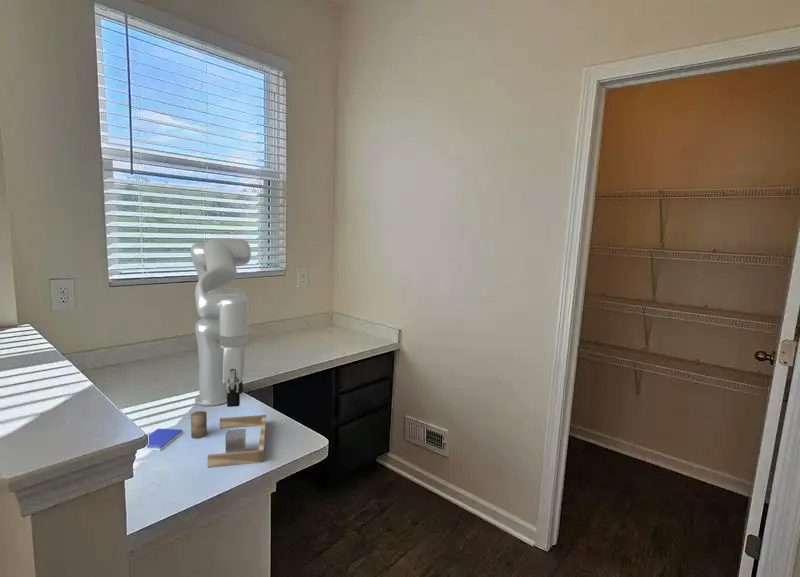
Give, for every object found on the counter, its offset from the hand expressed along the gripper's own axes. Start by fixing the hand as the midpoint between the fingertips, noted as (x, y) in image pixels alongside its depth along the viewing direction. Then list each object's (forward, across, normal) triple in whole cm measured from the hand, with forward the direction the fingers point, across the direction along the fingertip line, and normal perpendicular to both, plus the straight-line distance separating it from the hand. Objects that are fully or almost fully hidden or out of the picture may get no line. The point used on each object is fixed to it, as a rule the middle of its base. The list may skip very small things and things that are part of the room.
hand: (235, 399), depth 127 cm
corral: (+16, -6, 0) cm, 17 cm away
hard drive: (+17, -12, -23) cm, 31 cm away
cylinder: (+16, -14, -12) cm, 24 cm away
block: (+16, 0, 0) cm, 16 cm away
